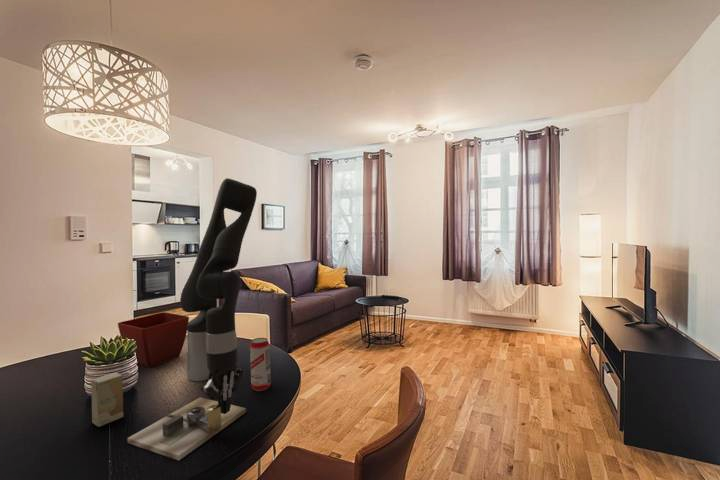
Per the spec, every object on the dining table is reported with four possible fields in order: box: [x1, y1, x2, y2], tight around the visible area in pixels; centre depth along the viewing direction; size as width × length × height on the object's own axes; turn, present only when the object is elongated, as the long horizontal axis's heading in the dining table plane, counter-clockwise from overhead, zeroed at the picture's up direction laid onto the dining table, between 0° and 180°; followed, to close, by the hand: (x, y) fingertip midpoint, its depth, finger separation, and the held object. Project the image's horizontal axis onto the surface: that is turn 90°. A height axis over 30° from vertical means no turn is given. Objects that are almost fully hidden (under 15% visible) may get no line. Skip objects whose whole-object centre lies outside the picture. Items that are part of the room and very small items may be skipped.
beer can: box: [249, 337, 272, 392], centre depth 113 cm, size 6×6×16 cm
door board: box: [126, 397, 247, 462], centre depth 92 cm, size 18×22×4 cm
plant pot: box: [117, 312, 190, 368], centre depth 141 cm, size 19×19×17 cm
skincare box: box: [90, 372, 124, 428], centre depth 96 cm, size 6×4×12 cm
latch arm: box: [187, 405, 222, 433], centre depth 89 cm, size 12×4×6 cm, turn 57°
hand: (224, 412), depth 90 cm, fingers closed
